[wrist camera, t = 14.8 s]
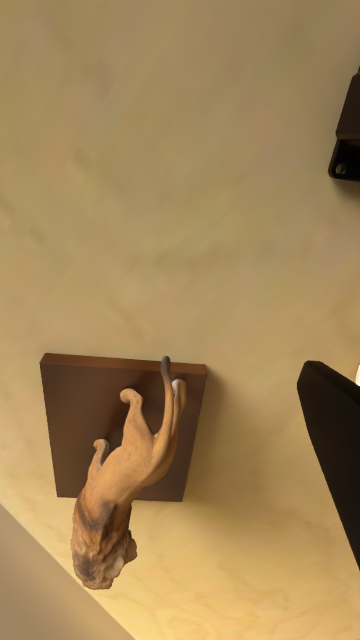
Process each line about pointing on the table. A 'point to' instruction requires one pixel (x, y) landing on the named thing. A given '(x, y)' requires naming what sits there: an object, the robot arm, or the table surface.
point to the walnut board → (113, 415)
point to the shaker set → (358, 376)
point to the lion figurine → (122, 486)
